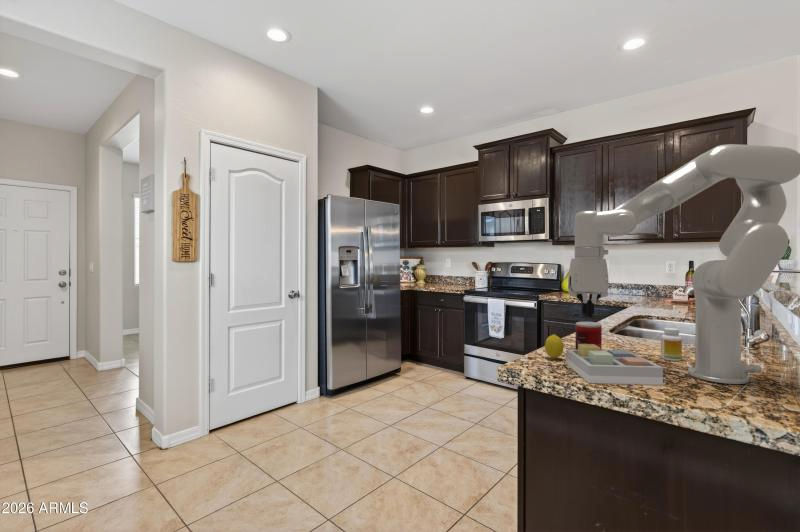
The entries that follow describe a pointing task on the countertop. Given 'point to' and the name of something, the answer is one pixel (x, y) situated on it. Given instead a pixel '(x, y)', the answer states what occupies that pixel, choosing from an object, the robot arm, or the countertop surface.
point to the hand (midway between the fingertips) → (587, 316)
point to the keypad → (615, 371)
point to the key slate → (620, 353)
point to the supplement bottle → (671, 345)
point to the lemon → (554, 346)
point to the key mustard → (586, 349)
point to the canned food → (588, 333)
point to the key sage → (600, 358)
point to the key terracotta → (633, 361)
